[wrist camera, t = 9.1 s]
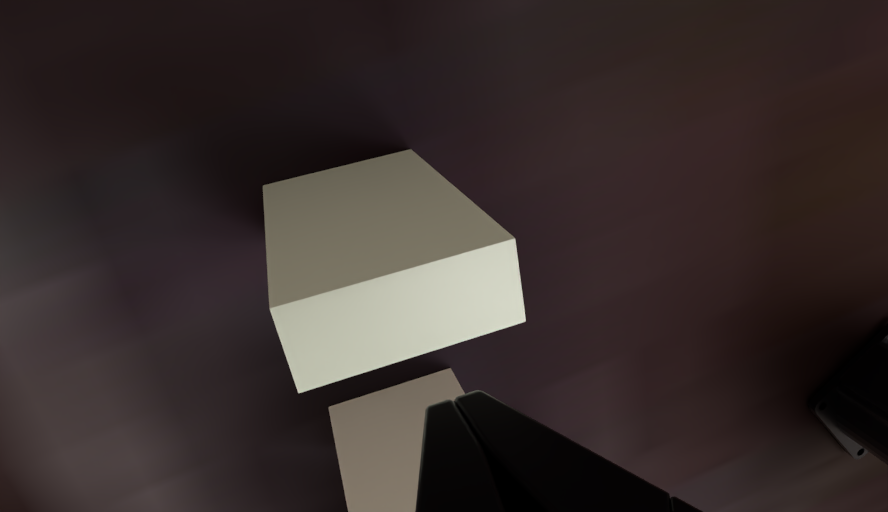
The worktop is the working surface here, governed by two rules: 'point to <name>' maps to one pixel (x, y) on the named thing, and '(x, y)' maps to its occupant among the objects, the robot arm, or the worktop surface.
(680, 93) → the worktop surface
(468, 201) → the domino
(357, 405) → the domino
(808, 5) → the worktop surface
